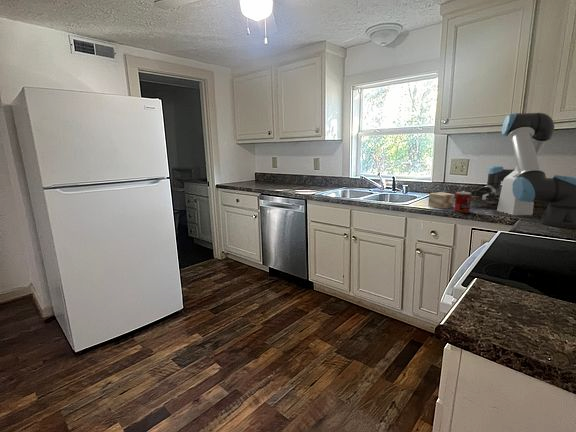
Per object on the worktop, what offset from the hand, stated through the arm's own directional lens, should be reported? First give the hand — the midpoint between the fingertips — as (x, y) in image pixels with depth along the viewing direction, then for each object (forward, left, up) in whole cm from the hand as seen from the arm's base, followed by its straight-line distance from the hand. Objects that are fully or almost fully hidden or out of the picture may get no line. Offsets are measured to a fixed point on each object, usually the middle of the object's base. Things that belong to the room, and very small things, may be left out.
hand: (470, 196), depth 186 cm
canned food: (+9, +3, -8) cm, 13 cm away
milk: (-15, +17, -8) cm, 24 cm away
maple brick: (+8, -13, -8) cm, 18 cm away
